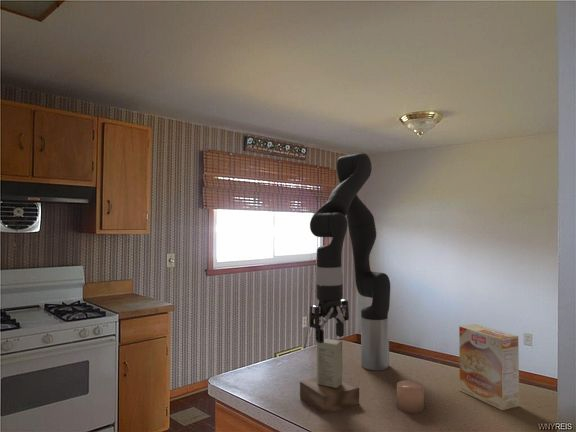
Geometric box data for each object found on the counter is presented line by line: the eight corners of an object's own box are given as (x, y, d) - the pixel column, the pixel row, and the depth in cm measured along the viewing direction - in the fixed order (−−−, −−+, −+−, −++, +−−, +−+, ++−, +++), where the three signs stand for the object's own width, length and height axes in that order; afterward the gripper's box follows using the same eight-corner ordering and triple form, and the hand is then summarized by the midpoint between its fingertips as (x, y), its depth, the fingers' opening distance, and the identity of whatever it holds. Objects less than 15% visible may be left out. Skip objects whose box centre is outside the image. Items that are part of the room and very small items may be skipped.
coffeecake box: (458, 390, 125) (458, 325, 125) (476, 386, 127) (475, 323, 128) (501, 411, 111) (501, 338, 111) (520, 406, 114) (519, 335, 114)
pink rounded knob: (405, 399, 118) (405, 378, 118) (428, 407, 113) (428, 385, 113) (392, 407, 113) (391, 385, 113) (415, 415, 108) (414, 392, 108)
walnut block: (333, 390, 125) (333, 374, 125) (359, 405, 115) (359, 387, 115) (300, 398, 119) (300, 381, 119) (323, 415, 109) (324, 396, 109)
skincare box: (342, 383, 118) (343, 341, 118) (336, 389, 114) (337, 344, 114) (322, 378, 121) (323, 337, 121) (315, 383, 117) (316, 340, 117)
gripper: (335, 278, 125) (336, 332, 125) (302, 283, 116) (303, 341, 115) (355, 281, 120) (356, 336, 120) (322, 286, 110) (323, 347, 110)
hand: (330, 339), depth 118 cm, fingers open, 8 cm apart
